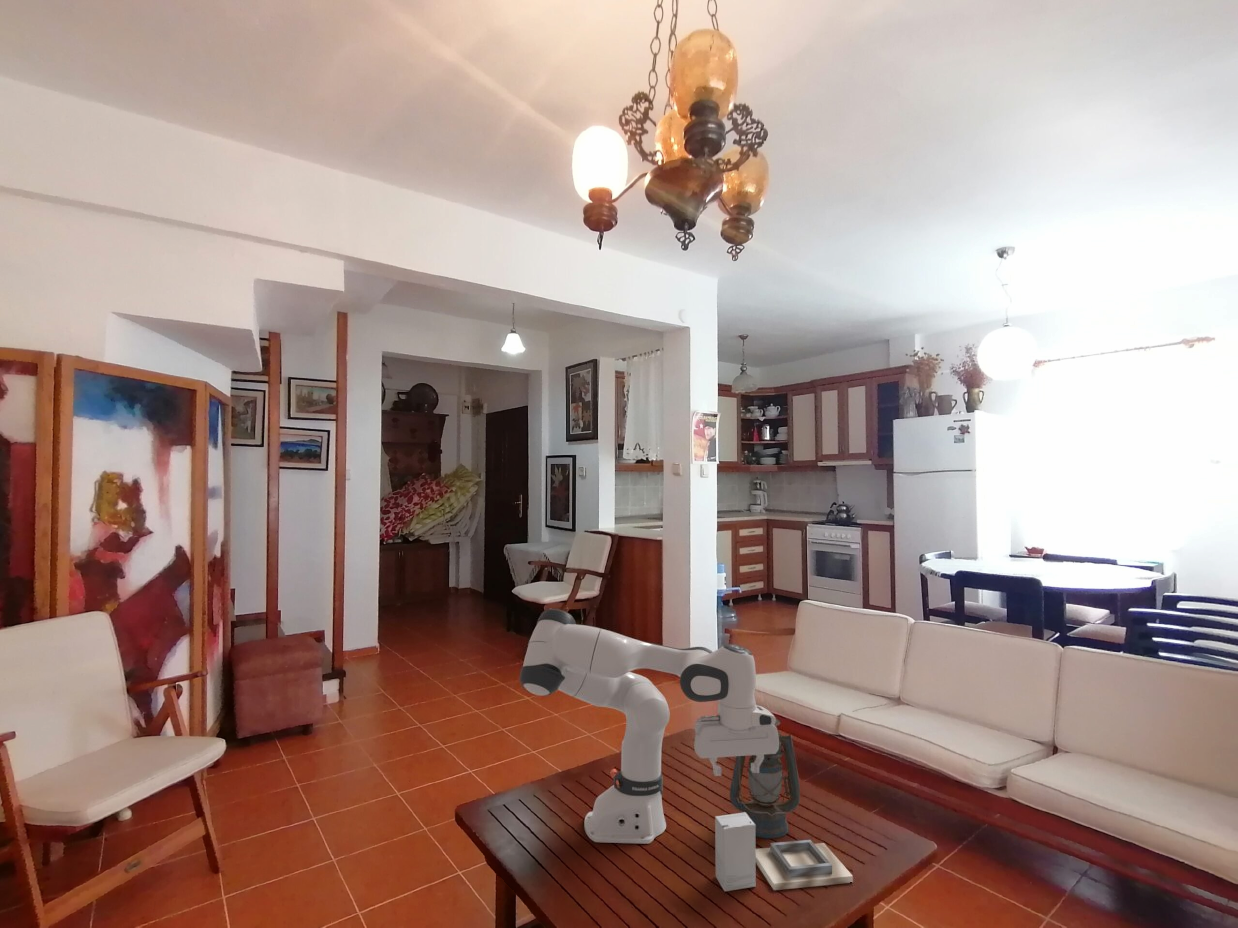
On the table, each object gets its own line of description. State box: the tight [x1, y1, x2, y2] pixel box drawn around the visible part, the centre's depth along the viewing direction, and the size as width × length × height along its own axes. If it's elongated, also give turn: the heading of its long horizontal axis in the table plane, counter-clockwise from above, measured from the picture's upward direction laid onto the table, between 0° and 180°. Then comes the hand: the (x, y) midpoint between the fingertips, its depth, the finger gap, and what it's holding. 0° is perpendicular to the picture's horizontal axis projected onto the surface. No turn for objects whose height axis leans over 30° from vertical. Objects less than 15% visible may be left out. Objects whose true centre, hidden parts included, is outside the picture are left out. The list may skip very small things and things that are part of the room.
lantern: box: [729, 717, 801, 839], centre depth 174 cm, size 19×14×30 cm
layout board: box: [756, 839, 854, 891], centre depth 155 cm, size 20×14×4 cm
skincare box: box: [714, 812, 757, 892], centre depth 149 cm, size 8×6×15 cm
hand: (736, 773), depth 149 cm, fingers open, 8 cm apart
